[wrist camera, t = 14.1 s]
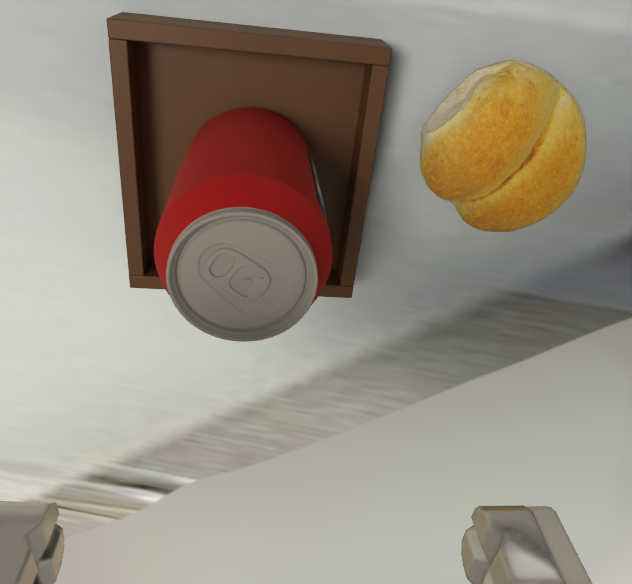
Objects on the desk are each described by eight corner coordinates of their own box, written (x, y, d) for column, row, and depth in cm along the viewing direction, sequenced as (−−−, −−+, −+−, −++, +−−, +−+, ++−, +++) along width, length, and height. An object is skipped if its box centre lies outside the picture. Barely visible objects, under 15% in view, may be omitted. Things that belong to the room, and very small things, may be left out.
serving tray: (120, 11, 26) (106, 18, 23) (381, 39, 27) (392, 47, 25) (139, 263, 33) (129, 288, 31) (345, 274, 34) (351, 298, 32)
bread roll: (490, 241, 34) (515, 274, 31) (391, 150, 30) (406, 175, 27) (603, 140, 31) (644, 164, 28) (508, 26, 27) (541, 37, 24)
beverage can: (263, 245, 32) (261, 383, 22) (162, 176, 29) (107, 297, 19) (339, 157, 30) (376, 266, 19) (236, 73, 27) (218, 149, 17)
